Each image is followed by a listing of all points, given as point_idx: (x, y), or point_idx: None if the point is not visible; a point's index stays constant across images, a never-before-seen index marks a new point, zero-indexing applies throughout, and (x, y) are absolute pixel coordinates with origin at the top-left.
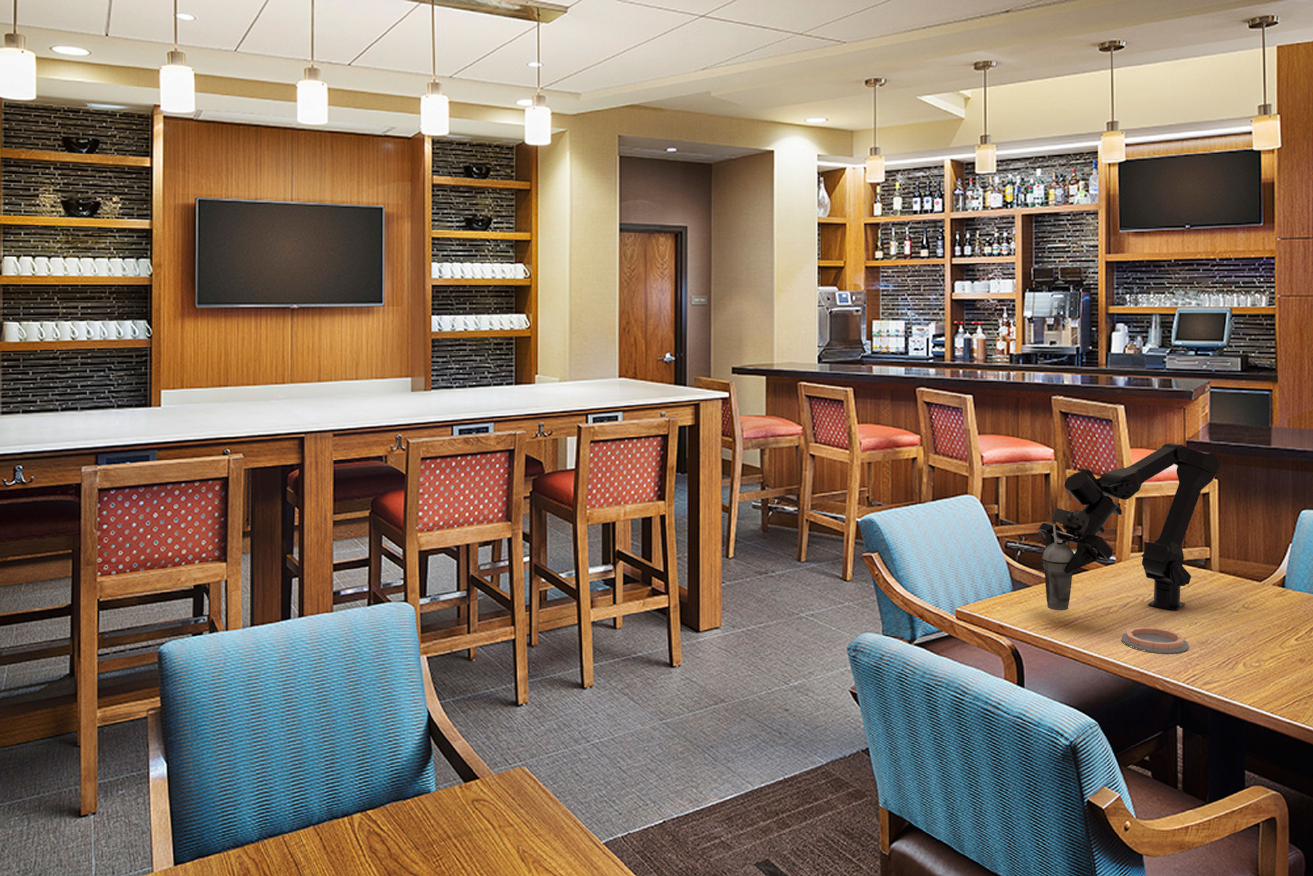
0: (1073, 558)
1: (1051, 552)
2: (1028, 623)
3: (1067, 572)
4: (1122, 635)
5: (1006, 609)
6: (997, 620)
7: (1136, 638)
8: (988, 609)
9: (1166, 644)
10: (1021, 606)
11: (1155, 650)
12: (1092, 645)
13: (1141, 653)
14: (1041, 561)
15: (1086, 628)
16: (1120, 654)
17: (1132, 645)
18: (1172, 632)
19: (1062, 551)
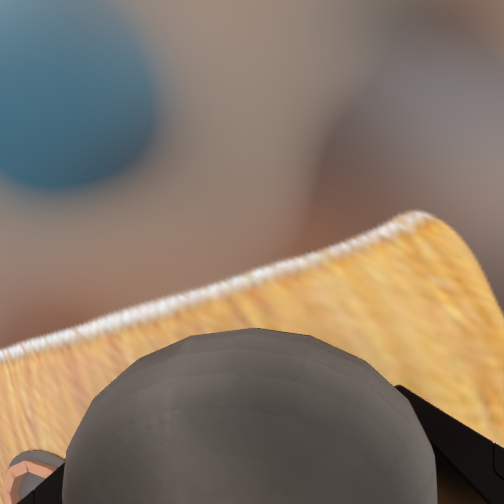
0: (44, 498)
1: (155, 356)
2: (292, 329)
3: None
4: None
5: (437, 328)
6: (340, 252)
7: (34, 469)
8: (440, 275)
9: (4, 485)
10: (455, 387)
11: (11, 462)
12: (74, 382)
13: (18, 437)
14: (405, 388)
15: None
16: (22, 393)
17: (37, 451)
18: None
19: (66, 462)
